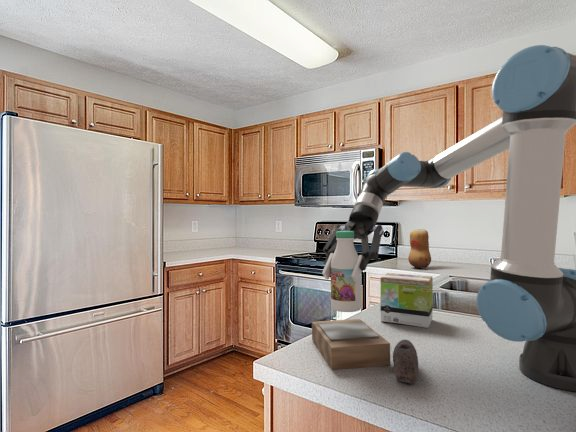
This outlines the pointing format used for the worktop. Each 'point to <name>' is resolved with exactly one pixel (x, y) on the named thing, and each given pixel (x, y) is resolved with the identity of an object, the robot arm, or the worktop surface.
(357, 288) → the milk bottle
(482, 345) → the worktop surface
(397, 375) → the perforated stone tool
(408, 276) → the tea box
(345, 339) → the walnut stand
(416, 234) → the butternut squash
